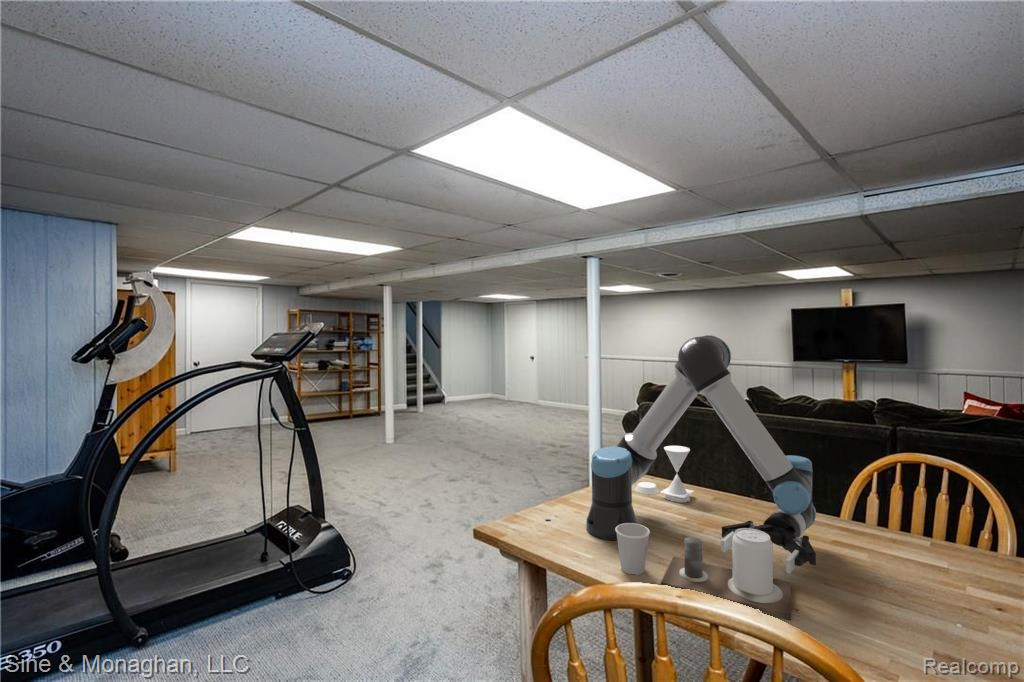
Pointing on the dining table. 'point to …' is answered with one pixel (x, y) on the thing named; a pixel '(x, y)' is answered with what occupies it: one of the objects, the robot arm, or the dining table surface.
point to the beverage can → (752, 561)
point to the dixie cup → (632, 547)
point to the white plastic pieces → (676, 488)
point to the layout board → (723, 582)
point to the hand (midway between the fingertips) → (753, 556)
